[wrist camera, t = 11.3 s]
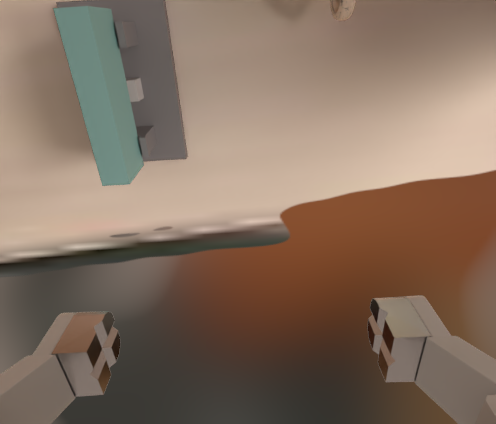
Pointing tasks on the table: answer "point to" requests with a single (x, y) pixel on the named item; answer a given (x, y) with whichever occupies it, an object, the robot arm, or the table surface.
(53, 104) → the table surface
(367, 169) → the table surface
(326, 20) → the table surface
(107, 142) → the frame bar
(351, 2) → the teacup with lid
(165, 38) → the display stand
